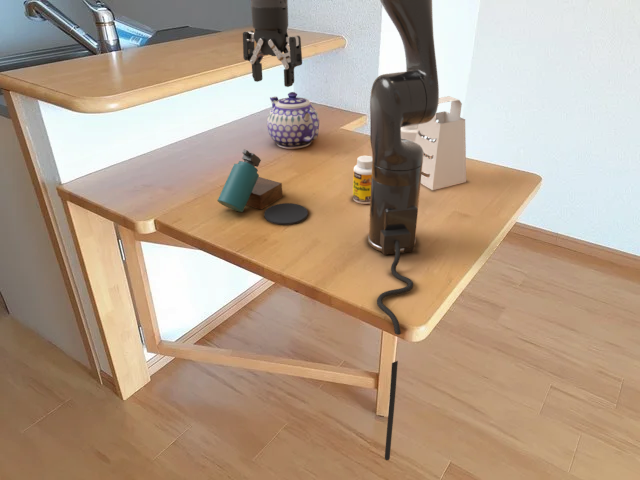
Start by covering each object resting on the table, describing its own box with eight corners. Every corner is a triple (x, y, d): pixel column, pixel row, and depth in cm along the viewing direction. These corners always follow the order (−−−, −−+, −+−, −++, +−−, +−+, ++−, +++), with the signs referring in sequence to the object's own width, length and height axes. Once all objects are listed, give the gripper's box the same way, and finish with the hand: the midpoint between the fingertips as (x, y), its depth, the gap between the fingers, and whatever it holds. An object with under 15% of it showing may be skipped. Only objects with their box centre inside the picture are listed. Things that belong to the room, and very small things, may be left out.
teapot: (338, 150, 150) (338, 98, 143) (291, 161, 144) (289, 107, 136) (296, 127, 169) (294, 80, 162) (252, 135, 162) (249, 86, 155)
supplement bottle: (348, 201, 122) (349, 160, 116) (359, 192, 126) (360, 152, 121) (370, 207, 119) (372, 164, 114) (380, 197, 123) (382, 156, 118)
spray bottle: (234, 222, 113) (229, 165, 107) (214, 215, 116) (207, 159, 110) (269, 201, 122) (266, 147, 115) (249, 195, 125) (245, 142, 118)
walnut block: (261, 209, 118) (260, 195, 117) (234, 201, 122) (232, 187, 121) (282, 196, 124) (281, 183, 122) (256, 189, 128) (255, 175, 126)
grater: (406, 175, 135) (413, 97, 125) (439, 167, 139) (448, 91, 129) (432, 190, 127) (441, 108, 117) (466, 181, 131) (477, 101, 121)
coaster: (311, 222, 113) (311, 220, 113) (267, 227, 111) (266, 225, 111) (303, 203, 121) (303, 201, 121) (262, 207, 120) (262, 205, 119)
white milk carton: (417, 156, 146) (421, 114, 140) (392, 155, 147) (394, 112, 141) (418, 147, 152) (422, 106, 146) (394, 146, 153) (396, 105, 147)
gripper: (231, 3, 109) (237, 82, 117) (286, 7, 102) (289, 91, 110) (254, 0, 114) (259, 76, 122) (308, 3, 107) (309, 84, 115)
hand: (273, 83), depth 116 cm, fingers open, 8 cm apart
